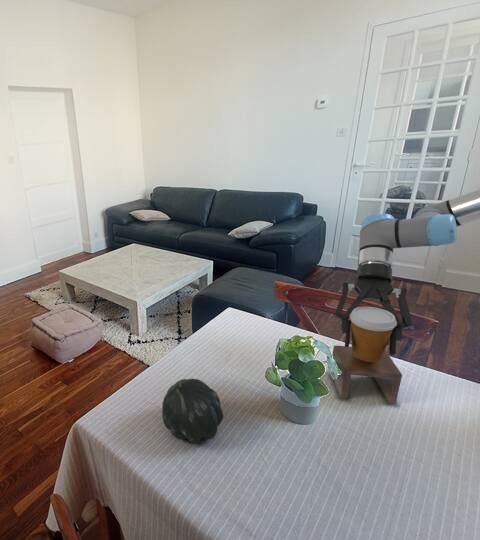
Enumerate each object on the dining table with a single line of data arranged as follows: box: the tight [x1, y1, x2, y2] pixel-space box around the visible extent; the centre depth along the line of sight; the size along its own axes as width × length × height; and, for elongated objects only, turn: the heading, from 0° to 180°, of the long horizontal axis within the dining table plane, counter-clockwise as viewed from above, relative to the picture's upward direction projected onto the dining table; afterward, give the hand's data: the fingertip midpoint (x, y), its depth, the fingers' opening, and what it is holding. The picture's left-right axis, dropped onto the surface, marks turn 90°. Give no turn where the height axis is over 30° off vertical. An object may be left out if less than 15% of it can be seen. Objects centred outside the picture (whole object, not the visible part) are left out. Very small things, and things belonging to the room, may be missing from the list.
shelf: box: [331, 345, 403, 405], centre depth 90 cm, size 12×11×9 cm
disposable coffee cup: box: [349, 306, 397, 362], centre depth 86 cm, size 10×10×12 cm
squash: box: [161, 378, 224, 444], centre depth 82 cm, size 14×15×15 cm
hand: (369, 349), depth 84 cm, fingers closed on disposable coffee cup, 8 cm apart
